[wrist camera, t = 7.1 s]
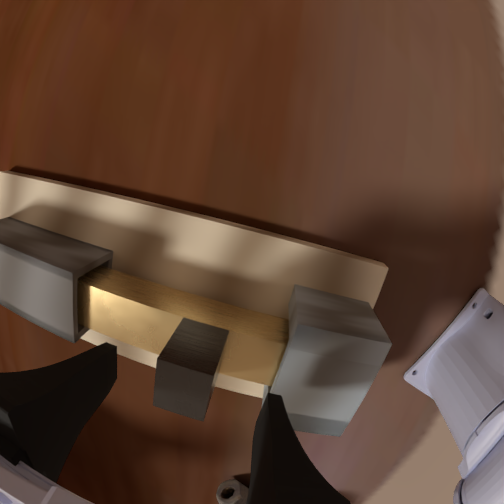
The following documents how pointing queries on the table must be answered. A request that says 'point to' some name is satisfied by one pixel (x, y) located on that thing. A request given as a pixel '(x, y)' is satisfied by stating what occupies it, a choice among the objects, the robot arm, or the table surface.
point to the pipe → (232, 492)
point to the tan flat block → (183, 336)
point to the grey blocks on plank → (199, 285)
